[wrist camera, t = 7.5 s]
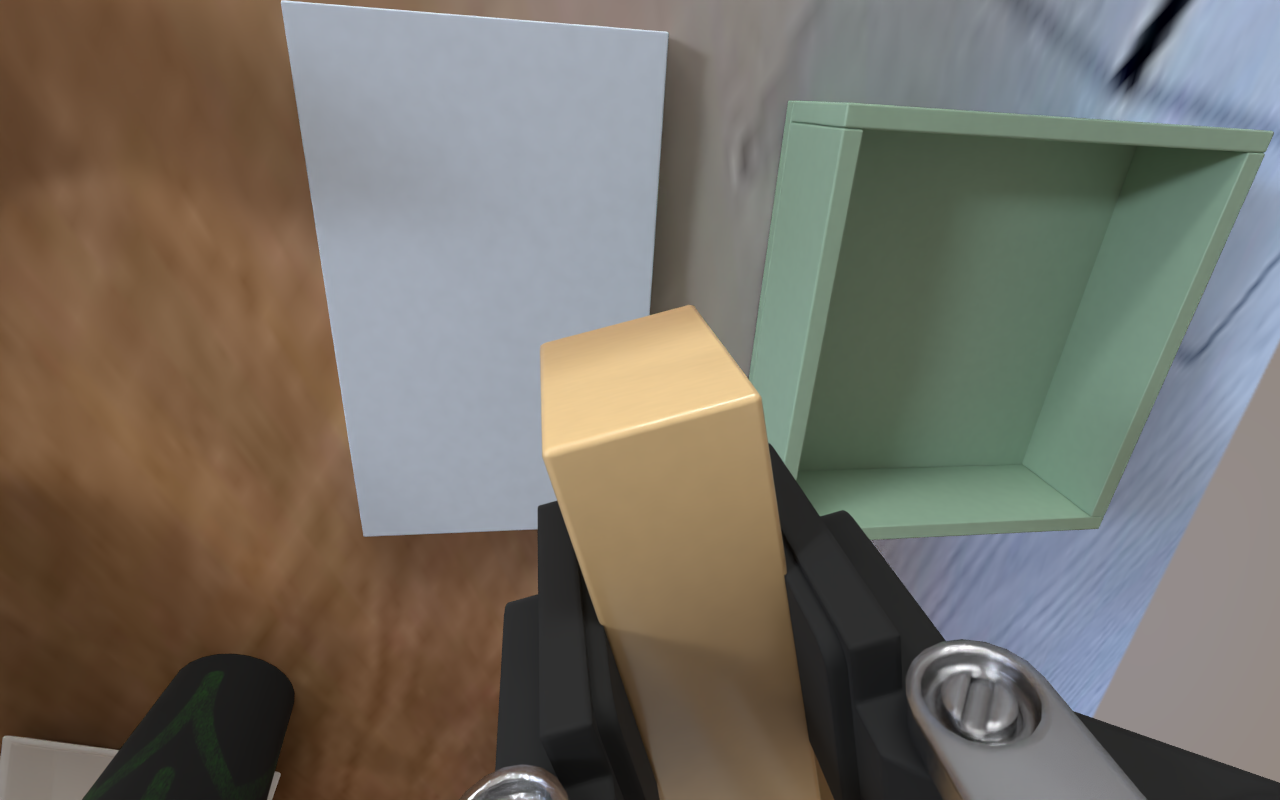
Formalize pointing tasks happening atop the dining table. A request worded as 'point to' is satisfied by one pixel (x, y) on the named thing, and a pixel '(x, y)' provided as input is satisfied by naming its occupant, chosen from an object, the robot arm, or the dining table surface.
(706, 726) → the brush
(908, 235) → the basket
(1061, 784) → the robot arm
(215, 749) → the cup
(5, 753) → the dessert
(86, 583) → the dining table surface
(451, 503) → the mat
